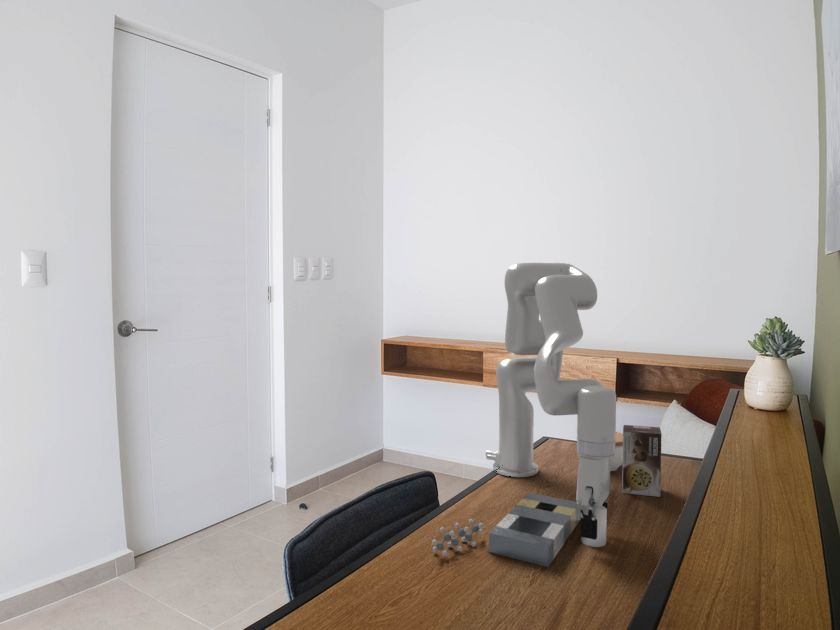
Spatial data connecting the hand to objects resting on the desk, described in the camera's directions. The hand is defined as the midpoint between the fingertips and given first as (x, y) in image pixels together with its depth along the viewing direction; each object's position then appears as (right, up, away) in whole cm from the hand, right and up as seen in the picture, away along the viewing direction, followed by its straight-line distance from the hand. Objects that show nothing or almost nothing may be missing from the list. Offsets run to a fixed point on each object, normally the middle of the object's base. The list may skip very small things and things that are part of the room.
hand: (594, 528), depth 121 cm
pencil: (+5, -2, +22) cm, 22 cm away
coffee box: (+20, -1, +28) cm, 35 cm away
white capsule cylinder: (0, -3, 0) cm, 3 cm away
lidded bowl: (+17, 0, +46) cm, 49 cm away
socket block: (-11, -3, +3) cm, 12 cm away
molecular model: (-28, -3, -3) cm, 29 cm away
